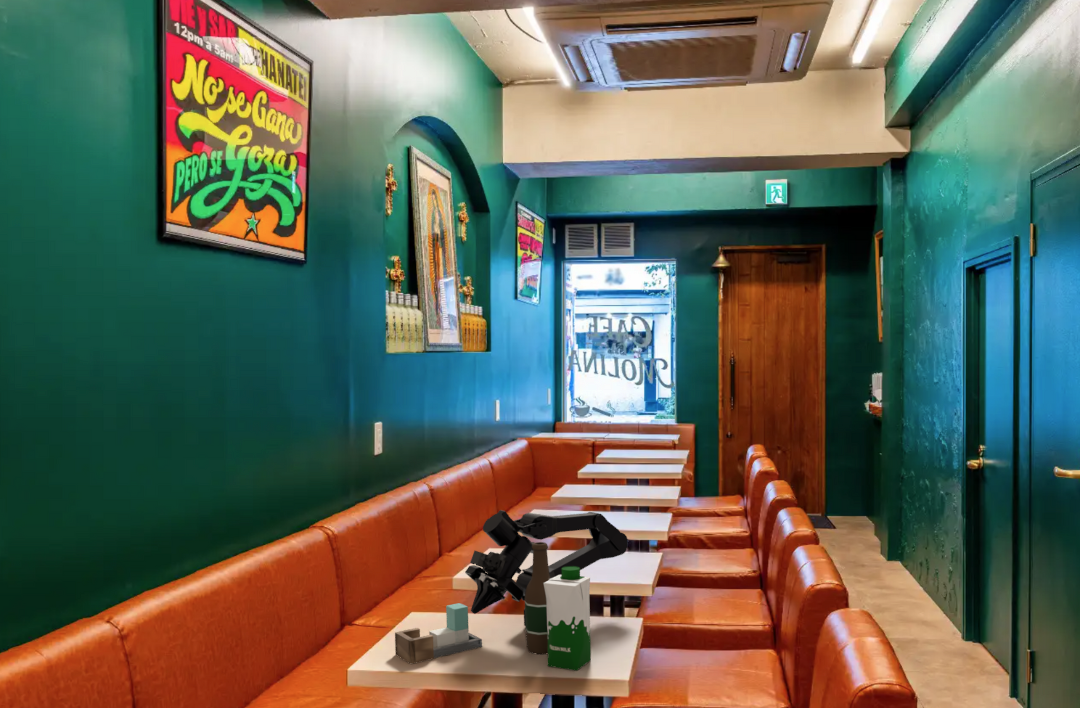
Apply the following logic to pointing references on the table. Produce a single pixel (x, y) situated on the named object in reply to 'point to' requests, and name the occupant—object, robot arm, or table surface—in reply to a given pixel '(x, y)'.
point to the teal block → (452, 627)
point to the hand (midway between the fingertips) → (472, 612)
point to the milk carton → (568, 619)
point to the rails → (458, 646)
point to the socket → (413, 646)
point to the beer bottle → (537, 602)
